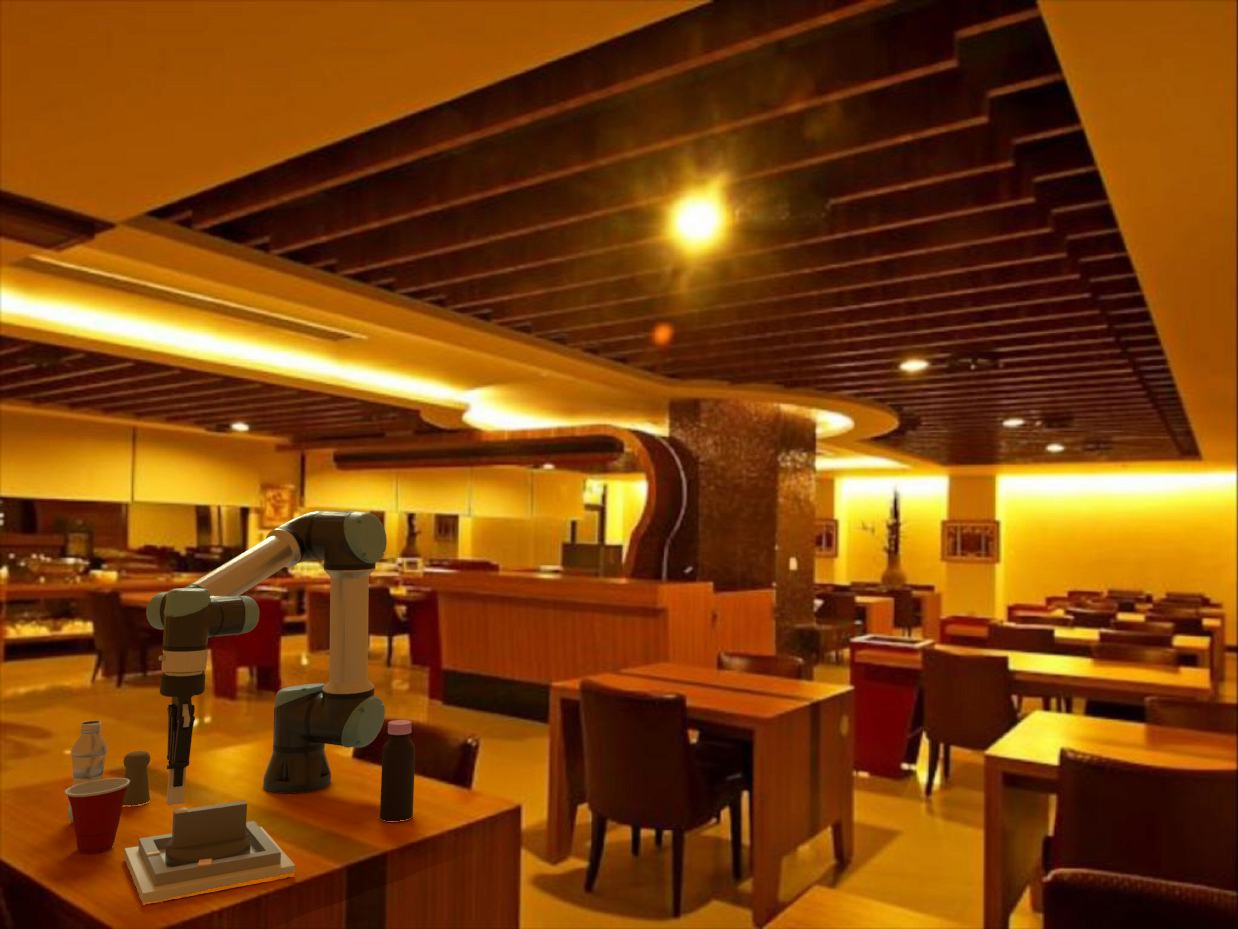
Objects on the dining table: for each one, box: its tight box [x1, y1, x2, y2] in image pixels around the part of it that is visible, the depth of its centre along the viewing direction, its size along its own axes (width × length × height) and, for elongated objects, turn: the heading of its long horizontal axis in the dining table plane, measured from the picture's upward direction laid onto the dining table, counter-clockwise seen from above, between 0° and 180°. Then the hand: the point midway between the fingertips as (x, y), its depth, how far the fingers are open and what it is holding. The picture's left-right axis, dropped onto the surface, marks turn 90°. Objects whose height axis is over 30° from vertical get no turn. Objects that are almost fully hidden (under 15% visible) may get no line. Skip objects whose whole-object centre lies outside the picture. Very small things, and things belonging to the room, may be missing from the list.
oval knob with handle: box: [165, 800, 251, 867], centre depth 167 cm, size 14×14×9 cm
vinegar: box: [379, 719, 416, 822], centre depth 197 cm, size 7×7×20 cm
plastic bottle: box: [67, 720, 108, 823], centre depth 190 cm, size 6×7×20 cm
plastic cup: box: [64, 777, 130, 855], centre depth 175 cm, size 11×11×12 cm
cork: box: [123, 750, 151, 806], centre depth 203 cm, size 6×6×11 cm
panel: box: [123, 820, 296, 903], centre depth 166 cm, size 24×24×4 cm
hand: (175, 803), depth 170 cm, fingers closed
